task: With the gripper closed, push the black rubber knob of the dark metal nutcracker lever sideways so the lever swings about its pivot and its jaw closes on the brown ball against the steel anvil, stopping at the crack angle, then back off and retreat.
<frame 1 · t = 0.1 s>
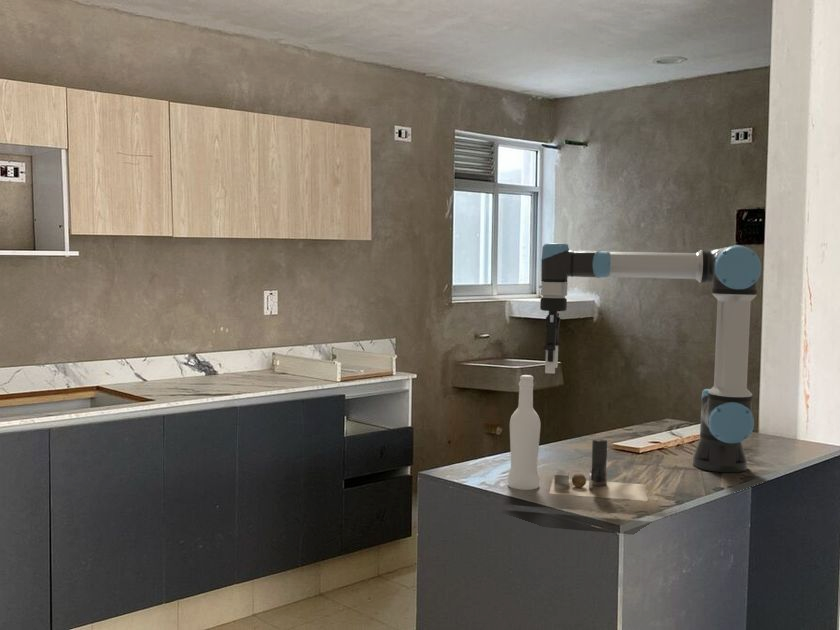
hand: (551, 370, 247), 28 cm above the countertop, fingers open, 13 cm apart
bottle: (523, 490, 222), on the countertop
brown ball: (578, 487, 221), point 1 cm above the countertop, touching board
board: (597, 493, 220), on the countertop
lever: (598, 462, 219), point 8 cm above the countertop, hinge at 0.0°
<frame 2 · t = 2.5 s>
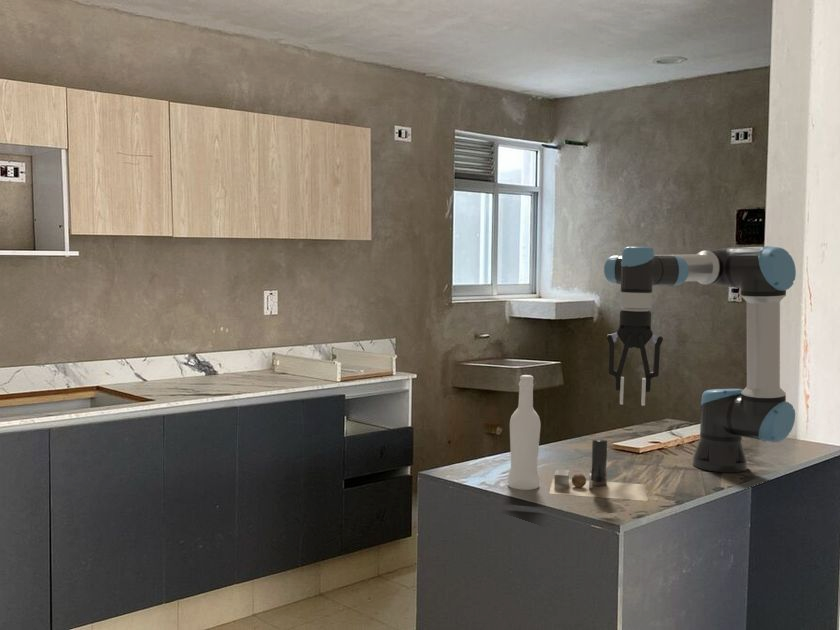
hand: (632, 404, 210), 25 cm above the countertop, fingers open, 4 cm apart
nothing on the countertop moved.
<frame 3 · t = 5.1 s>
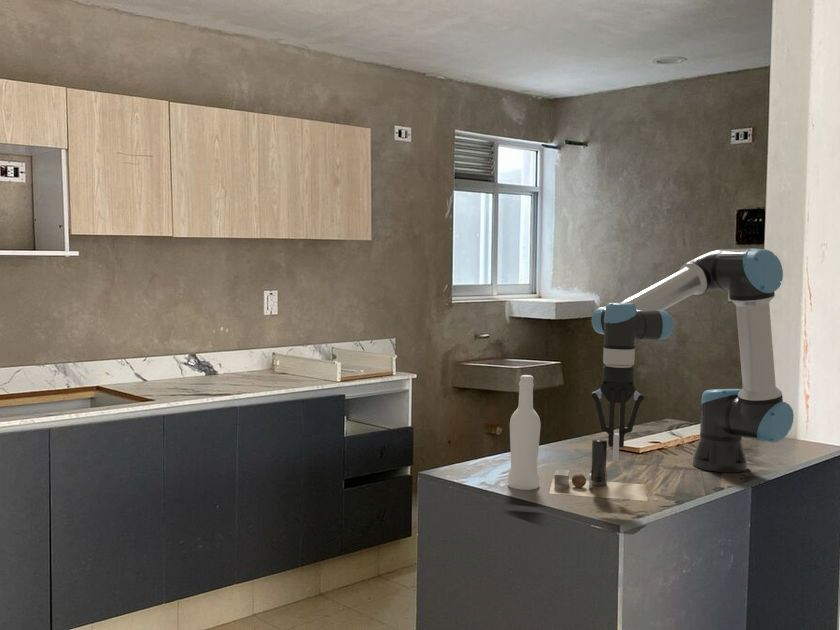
hand: (615, 459, 212), 11 cm above the countertop, fingers closed
lever: (597, 462, 219), point 8 cm above the countertop, hinge at 0.2°, touching gripper
everything else where it was.
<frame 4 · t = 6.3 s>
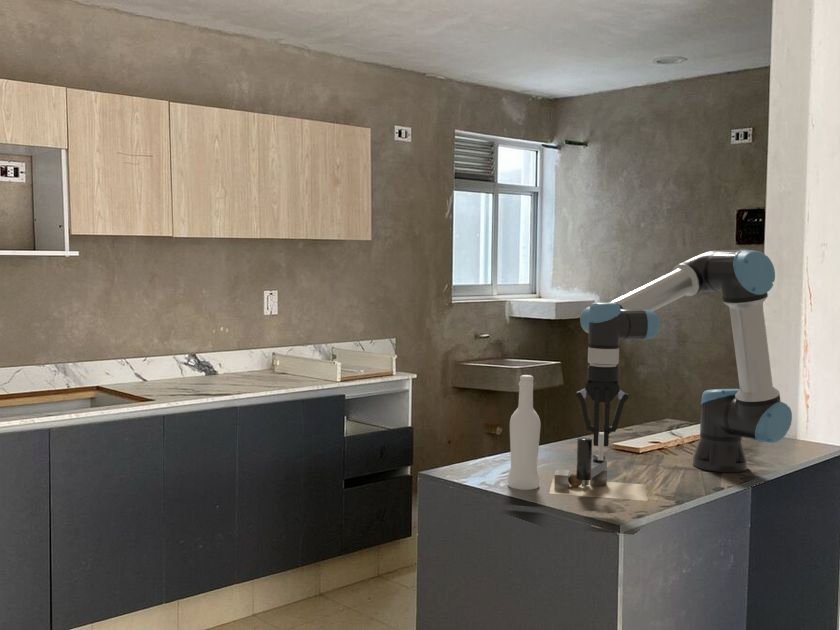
hand: (600, 458, 213), 11 cm above the countertop, fingers closed
brown ball: (578, 486, 221), point 1 cm above the countertop, tilted 30°, touching board, lever
lever: (590, 461, 219), point 8 cm above the countertop, hinge at 19.6°, touching gripper, brown ball
everything else where it was.
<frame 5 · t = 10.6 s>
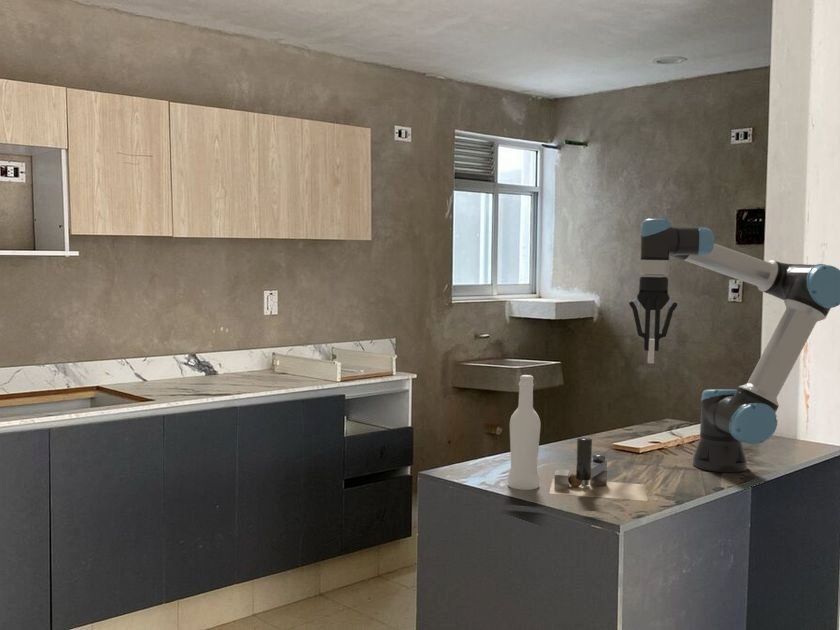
hand: (650, 362, 233), 32 cm above the countertop, fingers closed
lever: (590, 461, 219), point 8 cm above the countertop, hinge at 19.8°, touching brown ball
everything else where it was.
at the end: lever at +20° (first picture: +0°); brown ball moved 0.3 cm from its start; the gripper is holding nothing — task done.
